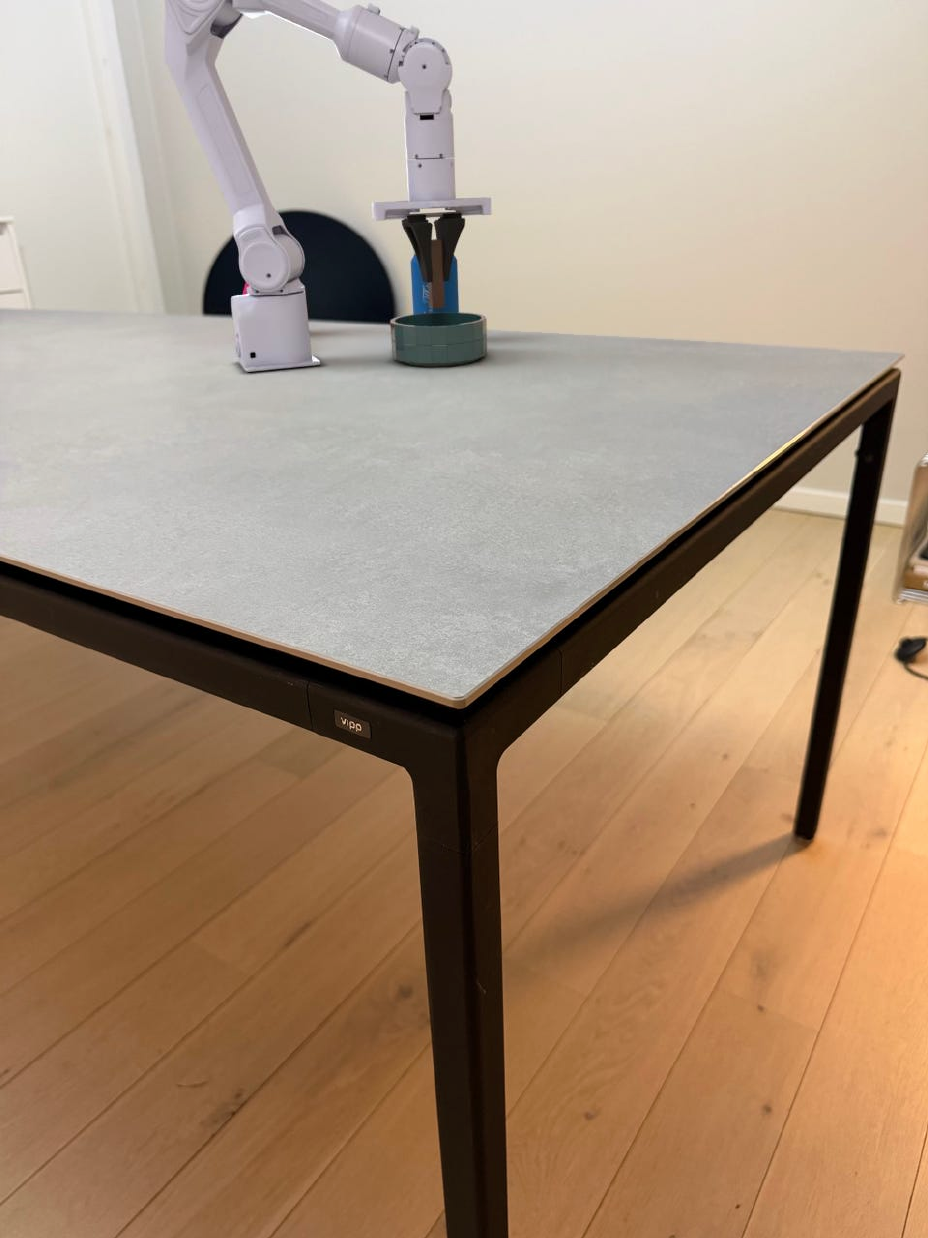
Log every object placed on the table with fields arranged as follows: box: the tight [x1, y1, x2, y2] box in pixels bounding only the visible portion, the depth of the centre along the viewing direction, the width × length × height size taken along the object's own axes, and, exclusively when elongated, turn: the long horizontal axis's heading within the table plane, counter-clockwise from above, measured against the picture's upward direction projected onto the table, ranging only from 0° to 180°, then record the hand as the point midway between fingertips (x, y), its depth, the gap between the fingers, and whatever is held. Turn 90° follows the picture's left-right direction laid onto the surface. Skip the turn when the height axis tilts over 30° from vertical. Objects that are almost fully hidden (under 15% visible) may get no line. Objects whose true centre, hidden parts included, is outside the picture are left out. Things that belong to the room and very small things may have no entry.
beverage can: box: [410, 251, 460, 314], centre depth 129 cm, size 6×6×12 cm
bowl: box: [389, 311, 488, 368], centre depth 118 cm, size 12×12×5 cm
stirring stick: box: [428, 238, 445, 309], centre depth 114 cm, size 2×2×8 cm
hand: (435, 281), depth 114 cm, fingers closed on stirring stick, 1 cm apart
